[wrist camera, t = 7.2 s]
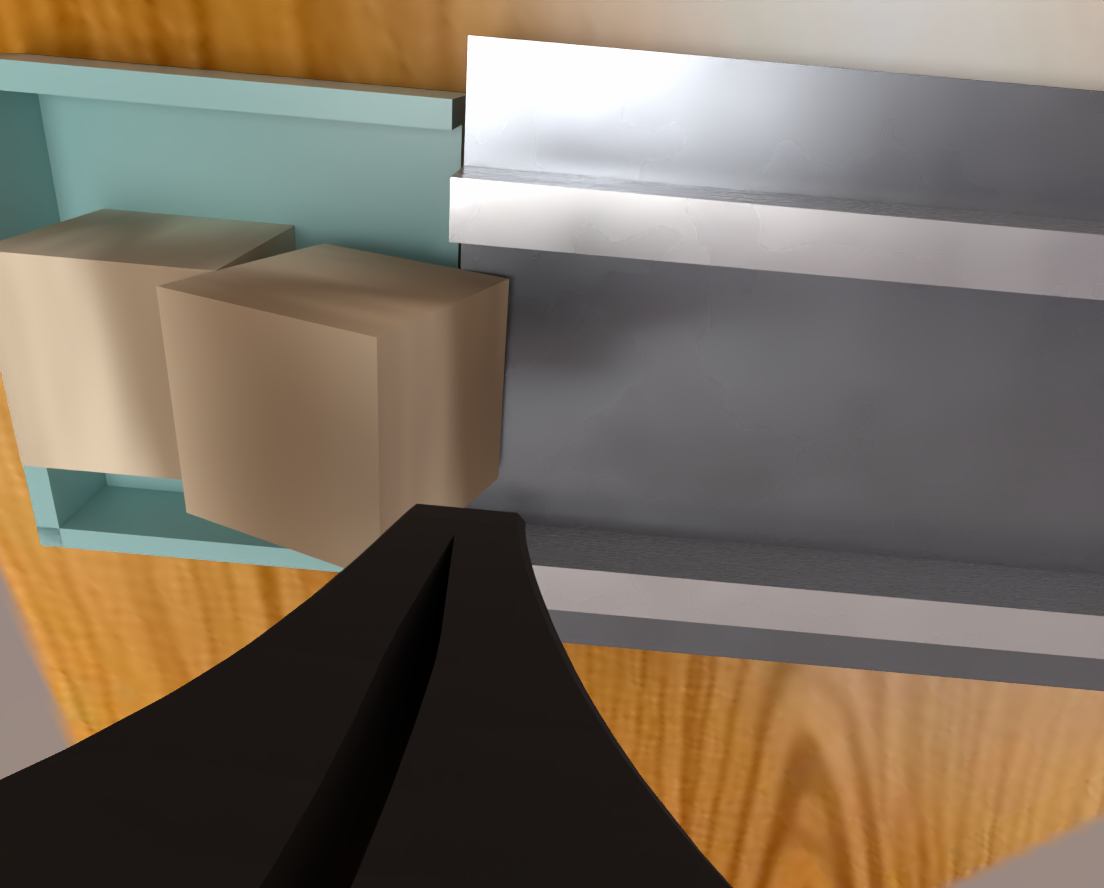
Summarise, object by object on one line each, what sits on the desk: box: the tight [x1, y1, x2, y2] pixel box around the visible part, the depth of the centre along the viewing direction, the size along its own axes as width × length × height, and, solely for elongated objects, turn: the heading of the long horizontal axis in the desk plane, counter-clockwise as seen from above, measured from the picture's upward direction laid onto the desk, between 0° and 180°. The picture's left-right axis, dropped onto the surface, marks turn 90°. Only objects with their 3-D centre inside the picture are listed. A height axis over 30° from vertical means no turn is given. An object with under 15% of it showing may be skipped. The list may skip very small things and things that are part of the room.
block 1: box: [0, 209, 296, 480], centre depth 16 cm, size 4×4×4 cm
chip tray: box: [0, 53, 466, 572], centre depth 17 cm, size 9×10×2 cm
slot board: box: [449, 35, 1104, 691], centre depth 16 cm, size 16×12×4 cm
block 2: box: [156, 243, 509, 568], centre depth 14 cm, size 4×4×4 cm
